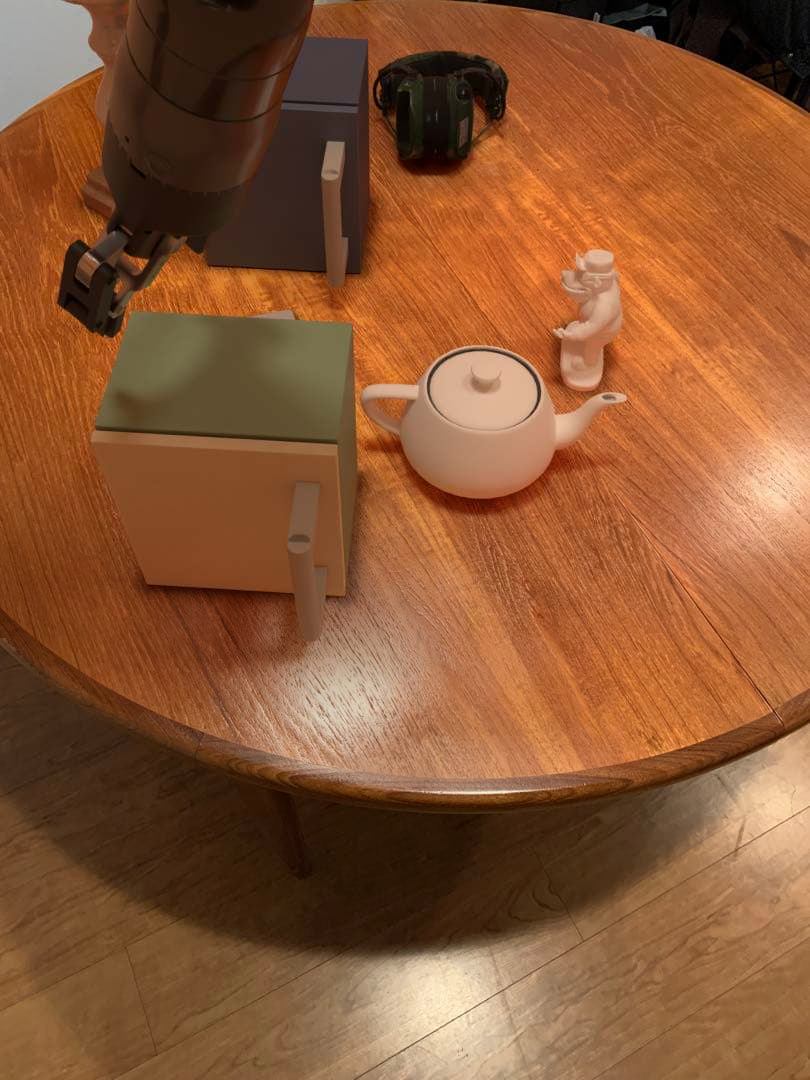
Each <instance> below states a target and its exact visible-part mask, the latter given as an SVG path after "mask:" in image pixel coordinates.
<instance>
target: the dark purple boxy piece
mask: <svg viewBox="0 0 810 1080" xmlns="http://www.w3.org/2000/svg"><path fill="white" fill-rule="evenodd" d="M369 77H370V76H369V39H365V38H348V37H330V36H329V37H327V36H310V35H309V36H308V35H306V36H305V39H304V42H303V44H302V47H301V50H300V53H299V55H298V58H297V60H296V63H295V65H294V68H293V70H292V73H291V76H290V78H289V81H288V83H287V86H286V88H285V91H284V94H283V99H282V103H296V104H315V105H334V106H353V107H358V125H359V172H360V220H361V267H362V266H363V259H364V250H365V243H366V238H367V237H366V236H367V229H368V220H369V212H370V205H371V173H370V168H371V167H370V166H371V165H370V163H371V161H370V87H369V86H370V85H369V84H370V79H369Z"/></svg>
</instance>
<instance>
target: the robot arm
mask: <svg viewBox="0 0 810 1080" xmlns="http://www.w3.org/2000/svg"><path fill="white" fill-rule="evenodd" d="M314 6H315V0H130V4H129V11H128V17H127V24H126V28H125V31H124V33H123V36H122V39H121V42H120V44H119V47H118V50H117V54H116V59H115V64H114V70H113V77H112V84H111V91H110V98H109V105H108V112H107V119H106V126H105V129H104V133H103V140H102V147H101V165H102V167H103V172H104V175H105V178H106V181H107V184H108V187H109V189H110V192H111V194H112V197H113V200H114V203H113V204H112V215H111V217H110V219H109V218H108V220H107V221H106V224H105V225H104V226H103V228H102V230H101V231H100V233H99V235H98V237H97V238H96V239H95V241H94V242H93V245H92V246H91V247H90V246H89V245H88V244H87V243H86V242H85V241H84V240H83V239H82V238H79V239H76V240H75V241H74V242H72V243H71V244H69V246H68V247H67V250H66V252H65V255H64V262H63V266H62V273H61V278H60V284H59V289H58V296H57V300H56V301H57V302H56V304H57V305H58V306H59V307H60V308H62V309H63V310H64V311H66V312H67V313H69V315H71V316H72V317H73V318H75V319H76V320H77V321H78V322H79V323H81V324H82V325H83V326H84V327H85V329H86V330H88V331H89V332H90V333H91V334H96V333H97V335H99V336H100V337H101V338H104V337H105V336H106V337H108V338H109V339H113V338H115V337H116V336H117V335H118V334H119V333H120V332H121V331H122V326H123V322H124V318H125V314H126V309H127V306H128V304H129V302H130V300H132V297H133V296H134V294H135V293H138V292H140V291H142V290H145V289H147V288H149V287H150V286H151V285H153V282H154V281H155V279H156V278H157V277H158V275H159V274H160V271H161V270H162V269H163V267H164V265H165V264H166V262H167V261H168V260H169V258H170V256H171V255H174V254H177V253H179V251H180V250H181V249H182V247H183V245H185V246H187V247H188V248H189V249H190V250H191V251H192V252H194V253H195V254H197V255H201V254H203V253H204V252H205V249H206V248H207V247H208V245H209V242H210V240H211V237H212V234H213V233H214V232H217V231H219V230H221V229H223V228H224V227H226V226H227V225H229V224H230V223H231V222H233V221H234V220H235V219H236V217H237V216H238V215H239V214H240V212H241V211H242V209H243V207H244V205H245V203H246V201H247V198H248V196H249V193H250V191H251V188H252V186H253V183H254V181H255V178H256V176H257V174H258V171H259V169H260V166H261V164H262V161H263V159H264V156H265V154H266V151H267V149H268V146H269V144H270V141H271V139H272V136H273V134H274V131H275V128H276V125H277V122H278V119H279V115H280V110H281V105H282V99H283V94H284V91H285V88H286V86H287V83H288V81H289V78H290V76H291V73H292V70H293V68H294V65H295V63H296V60H297V58H298V55H299V53H300V50H301V47H302V44H303V42H304V39H305V36H307V33H308V30H309V28H310V27H309V26H310V23H311V19H312V15H313V10H314ZM124 254H126V256H128V257H132V258H136V259H142V260H147V262H146V264H145V265H144V267H143V269H141V268H139V267H138V266H137V265H136V264H135V263H133V261H131V260H130V259H129V258H128V257H126V256H125V255H124ZM120 282H121V286H120V288H119V290H118V292H116V291H115V289H116V285H119V284H120Z"/></svg>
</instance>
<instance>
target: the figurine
mask: <svg viewBox="0 0 810 1080" xmlns="http://www.w3.org/2000/svg"><path fill="white" fill-rule="evenodd" d="M574 256H575V261H574V264H575V267H576V268H577V269H572V270H571V269H568V270H566V269H563V270H562V271H561V273H560V275H561V278H560V285H561V288H562V289H563V292H564V294H565V295H566V296H567V297H568V298H569V299H570V300H571V301H573V302H575V303H577V311H576V314H577V320H574V321H571V322H570V323H569V324H568V325H567V326H566V327H565V329H564V328H563V327H559V328H557V329H555V328H552V332H553V334H554V335H555V336H556V337H557V338H558V339H561V341H560V358H559V359H560V362H559V368H560V375H561V378H562V381H563V383H564V384H565V386H566V387H568V388H569V389H571V390H572V391H576V392H592V391H594V390H596V389H597V387H599V385H600V383H601V380H602V377H603V372H604V348H605V346H606V345H608V344H610V343H611V342H612V341H614V340H615V339H616V338H617V336H619V334H620V333H621V331H622V327H623V317H624V316H623V315H624V314H623V305H622V302H621V289H620V286H619V284H620V281H621V277H620V274H619V272H618V271H617V270H616V269H615V267H614V262H615V256H614V254H613V253H612V252H611V251H609V250H605V249H600V248H595V249H594V248H593V249H589V250H588V251H586V253H585V254H584V256H583V257H582V256H580V255H579V253H578V252H577V251H575V252H574Z"/></svg>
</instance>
